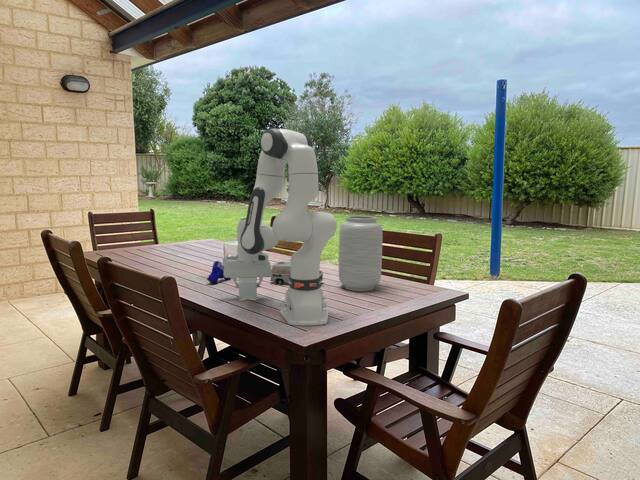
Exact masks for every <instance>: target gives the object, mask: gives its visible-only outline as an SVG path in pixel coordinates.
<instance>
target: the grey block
mask: <svg viewBox="0 0 640 480" xmlns="http://www.w3.org/2000/svg"><path fill="white" fill-rule="evenodd" d="M257 278H258V277H247V278H238V283H239V288H238V298H239V299H238V300H240V299H244V298H253V299H257V298H258V297H257V295H258V293H257V292H258V288H257V283H258V279H257ZM257 300H258V299H257Z"/></svg>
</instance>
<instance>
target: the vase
mask: <svg viewBox="0 0 640 480" xmlns="http://www.w3.org/2000/svg"><path fill="white" fill-rule="evenodd" d="M382 263H383V227H382V224H381V223H379V222H377V217H375V216H370V215H369V216H368V215H349V216H346V218H345V221H343V222H342V223H341V224H340V226H339V233H338V280H339V282H340V283H341V285H343V286H344V289H346V290H349V291H353V292H369V291H372V290H374V289H375V287H377V286H378V285H379V283H380V282H381V279H382Z"/></svg>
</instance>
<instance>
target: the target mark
mask: <svg viewBox="0 0 640 480" xmlns="http://www.w3.org/2000/svg"><path fill="white" fill-rule="evenodd" d="M246 300H250V301H253V302H254V301H257V300H258V299H253V298H244V299H239V301H240V302H243V301H246Z"/></svg>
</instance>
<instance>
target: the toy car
mask: <svg viewBox="0 0 640 480" xmlns="http://www.w3.org/2000/svg"><path fill="white" fill-rule="evenodd" d="M271 271H272V275H271V277H270V279H269V281H270V282H274V283H276V285H280V286H284V285H285V283H287V284H289V277H290V261H277V262H275V263H274V264H272V266H271ZM323 276H324V272H323V270H319V277H320V280H321V282H322V281H323V280H324V277H323Z"/></svg>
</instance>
